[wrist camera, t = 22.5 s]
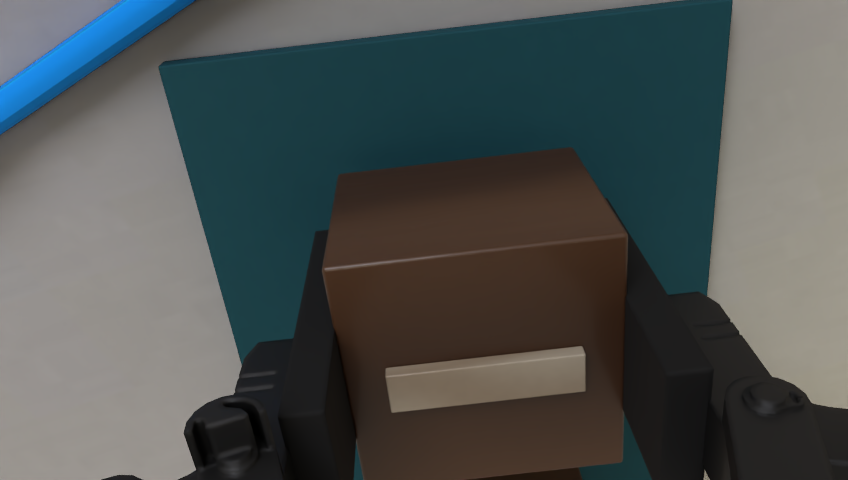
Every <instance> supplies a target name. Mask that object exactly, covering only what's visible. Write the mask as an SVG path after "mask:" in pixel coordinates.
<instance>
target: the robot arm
mask: <svg viewBox="0 0 848 480" xmlns="http://www.w3.org/2000/svg"><path fill="white" fill-rule="evenodd" d="M605 199H606V201H607V202H608V204H609V205H610V207H611V209H612V210H613V212H614V213H615V215H616V217H617V218H618V220H619V221H620V223H621V224H622V226H623V228H624V229H625V231H626V232H627V234H628V259H627V295H626V296H625V338H624V383H623V411H624V413H625V416H626V418H627V421H628V423H629V425H630V428H631V430H632V433H633V435H634V438H635V440H636V442H637V445H638V447H639V450H640V452H641V454H642V457H643V459H644V462H645V464H646V466H647V469H648V471H649V474H650V476H651V479H652V480H703V479H704V469H705V471H706V473H707V475H708V477H709V478H710V480H848V409H842V408H833V407H826V406H821V405H816V404H813V403H811V402H810V400H809V399H808V397H807V395H806V394H805V393H804V392H803V391H801V390H800V389H799V388H797V387H796V386H795V385H793V384H791V383H789V382H786V381H784V380H781V379H779V378H775V377H772V376H771V375H770V374H769V372H768V371H767V370H766V368H765V367H764V365H763V364H762V363H761V361H760V360H759V359H758V357H757V356H756V354H755V353H754V352H753V350H752V349H751V348H750V346H749V345H748V343H747V342H746V341H745V339H744V338H743V336H742V335H740V334H739V331H738V330H737V328H736V327H735V325H734V324H733V323H731V322H730V319H729V317H728V316H727V314H726V313H725V312H724V310H723V309H722V308H721V306H720V305H719V304H718V303H717V302H715V301H713V300H712V299H710V298H709V297H707V296H705V295H704V294H702V293H701V292H699V291H698V292H689V293H680V294H671V295H668V294H667V293H666V291H665V290H664V288H663V286H662V285H661V283H660V282H659V280H658V278H657V277H656V275H655V274H654V272H653V270H652V269H651V267H650V266H649V264H648V262H647V261H646V259H645V258H644V256H643V254H642V253H641V251H640V250H639V248H638V246H637V245H636V243H635V242H634V240H633V238H632V237H631V235H630V234H629V232H628V230H627V229H626V227H625V226H624V224H623V222H622V221H621V219H620V218H619V216H618V214H617V213H616V211H615V210H614V208H613V206H612V205H611V203H610V202H609V200H608V198H605ZM328 231H329V230H321V231H315V236H314V240H313V245H312V250H311V255H310V260H309V265H308V270H307V275H306V280H305V285H304V289H303V294H302V299H301V304H300V309H299V314H298V319H297V324H296V329H295V333H294V338H292V339H283V340H274V341H265V342H258V343H257V345H256V346H255V347H254V348H253V349H252V350H251V351H250V352H249V354H248V355H247V356H246V357H245V358H244V361H243V364H242V368H241V371H240V374H239V379H238V381H237V385H236V388H235V393H234V395H230V396H224V397H221V398H218V399H216V400H213V401H211V402H208V403H206V404H205V405H204V406H202V407H201V408H199V409H198V410H197V411H195V412H194V413H193V415H192V416H191V417H190V419H189V420H188V421H187V422H186V426H185V430H184V436H185V438H186V441H187V444H188V447H189V450H190V453H191V456H192V459H193V462H194V465H195V467H196V471H194V472H192V473H191V474H189V475H187V476H185V477H183V478H180V479H178V480H354V466H355V450H356V435H355V430H354V425H353V420H352V415H351V410H350V405H349V400H348V395H347V390H346V385H345V380H344V375H343V370H342V365H341V360H340V355H339V350H338V345H337V340H336V335H335V330H334V328H333V324H332V319H331V314H330V309H329V304H328V299H327V294H326V289H325V284H324V279H323V274H322V266H323V260H324V254H325V248H326V243H327V237H328ZM102 480H142V479H140V478H137V477H135V476H133V475H117V476H113V477H109V478H106V479H102Z"/></svg>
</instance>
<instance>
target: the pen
mask: <svg viewBox="0 0 848 480" xmlns="http://www.w3.org/2000/svg"><path fill="white" fill-rule="evenodd" d="M194 1H196V0H121V1H120V2H119V3H117V4H116V5H114V6H113V7H112V8H110V9H109V10H107V11H106V12H105V13H103V14H102V15H100V16H99V17H97V18H96V19H95V20H93V21H92V22H90V23H89V24H88V25H86V26H85V27H83V28H82V29H81V30H79V31H78V32H76V33H75V34H73V35H72V36H71V37H69V38H68V39H66V40H65V41H64V42H62V43H61V44H59V45H58V46H57V47H55V48H54V49H52V50H51V51H49V52H48V53H47V54H45V55H44V56H42V57H41V58H40V59H38V60H37V61H35V62H34V63H33V64H31V65H30V66H28V67H27V68H25V69H24V70H23V71H21V72H20V73H18V74H17V75H16V76H14V77H13V78H11V79H10V80H9V81H7V82H6V83H4V84H3V85H1V86H0V135H1V134H2V133H4V132H5V131H7V130H8V129H10V128H11V127H13V126H14V125H15V124H17V123H18V122H20V121H21V120H23V119H24V118H26V117H27V116H29V115H30V114H31V113H33V112H34V111H36V110H37V109H39V108H40V107H42V106H43V105H45V104H46V103H47V102H49V101H50V100H52V99H53V98H55V97H56V96H58V95H59V94H60V93H62V92H63V91H65V90H66V89H68V88H69V87H71V86H72V85H74V84H75V83H76V82H78V81H79V80H81V79H82V78H84V77H85V76H87V75H88V74H90V73H91V72H92V71H94V70H95V69H97V68H98V67H100V66H101V65H103V64H104V63H106V62H107V61H108V60H110V59H111V58H113V57H114V56H116V55H117V54H119V53H120V52H121V51H123V50H124V49H126V48H127V47H129V46H130V45H132V44H133V43H135V42H136V41H137V40H139V39H140V38H142V37H143V36H145V35H146V34H148V33H149V32H151V31H152V30H153V29H155V28H156V27H158V26H159V25H161V24H162V23H164V22H165V21H167V20H168V19H169V18H171V17H172V16H174V15H175V14H177V13H178V12H180V11H181V10H183V9H184V8H185V7H187V6H188V5H190V4H191V3H193V2H194Z"/></svg>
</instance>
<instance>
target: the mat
mask: <svg viewBox="0 0 848 480" xmlns="http://www.w3.org/2000/svg"><path fill="white" fill-rule="evenodd" d="M731 12H732V0H684V1H676V2H667V3H659V4H650V5H642V6H633V7H625V8H616V9H608V10H599V11H591V12H582V13H574V14H565V15H557V16H548V17H540V18H531V19H522V20H514V21H505V22H497V23H488V24H480V25H471V26H463V27H454V28H446V29H437V30H429V31H420V32H412V33H403V34H395V35H386V36H378V37H369V38H361V39H352V40H344V41H335V42H327V43H318V44H310V45H301V46H293V47H284V48H276V49H267V50H259V51H250V52H242V53H233V54H225V55H216V56H208V57H199V58H191V59H182V60H174V61H165V62H163V63H162V64H161V65H160V66H159V71H160V75H161V79H162V82H163V86H164V89H165V93H166V96H167V100H168V104H169V107H170V111H171V114H172V118H173V121H174V125H175V128H176V132H177V136H178V139H179V143H180V146H181V150H182V153H183V157H184V161H185V164H186V168H187V171H188V175H189V178H190V182H191V185H192V189H193V193H194V196H195V200H196V203H197V207H198V210H199V214H200V218H201V221H202V225H203V228H204V232H205V235H206V239H207V243H208V246H209V250H210V253H211V257H212V260H213V264H214V267H215V271H216V275H217V278H218V282H219V285H220V289H221V292H222V296H223V300H224V303H225V307H226V310H227V314H228V317H229V321H230V324H231V328H232V332H233V335H234V339H235V342H236V346H237V349H238V353H239V357H240V360H241V364H243V361H244V358H245V357H246V356H247V355H248V354H249V352H250V351H251V350H252V349H253V348H254V347H255V346H256V345H257V343H258V342H265V341H274V340H283V339H292V338H294V333H295V329H296V324H297V319H298V314H299V309H300V304H301V299H302V294H303V289H304V285H305V280H306V275H307V270H308V265H309V260H310V255H311V250H312V245H313V240H314V236H315V231H321V230H329V225H330V219H331V213H332V207H333V201H334V195H335V190H336V184H337V178H338V175H339V174H344V173H353V172H361V171H370V170H378V169H387V168H396V167H404V166H413V165H421V164H430V163H439V162H447V161H456V160H465V159H473V158H482V157H490V156H499V155H508V154H516V153H525V152H533V151H542V150H551V149H559V148H568V147H571V148H573V149H574V150H575V152H576V153H577V155H578V156H579V158H580V160H581V161H582V163H583V164H584V166H585V168H586V169H587V171H588V172H589V174H590V175H591V177H592V179H593V180H594V182H595V183H596V185H597V186H598V188H599V190H600V191H601V193H602V194H603V196H604V198H608V200H609V202H610V203H611V205H612V206H613V208H614V210H615V211H616V213H617V214H618V216H619V218H620V219H621V221H622V222H623V224H624V226H625V227H626V229H627V230H628V232H629V234H630V235H631V237H632V238H633V240H634V242H635V243H636V245H637V246H638V248H639V250H640V251H641V253H642V254H643V256H644V258H645V259H646V261H647V262H648V264H649V266H650V267H651V269H652V270H653V272H654V274H655V275H656V277H657V278H658V280H659V282H660V283H661V285H662V286H663V288H664V290H665V291H666V293H667V294H668V295H671V294H680V293H689V292H698V291H699V292H701V293H702V294H704V295H705V296H707V288H708V277H709V265H710V254H711V242H712V231H713V219H714V208H715V196H716V185H717V173H718V162H719V150H720V139H721V127H722V116H723V104H724V93H725V81H726V70H727V58H728V47H729V35H730V24H731ZM579 470H580V473H581V476H582V480H652V479H651V476H650V474H649V471H648V469H647V466H646V464H645V462H644V459H643V457H642V454H641V452H640V450H639V447H638V445H637V442H636V440H635V438H634V435H633V433H632V430H631V428H630V425H629V423H628V421H627V418H626V416H625V413H624V433H623V460H622V462H620V463H614V464H605V465H595V466H586V467H579ZM354 480H363V475H362V470H361V465H360V460H359V455H358V450H357V445H356V450H355V466H354Z"/></svg>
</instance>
